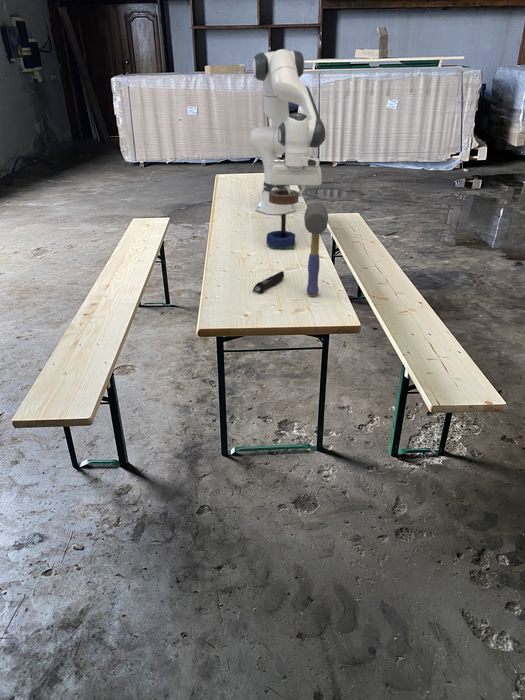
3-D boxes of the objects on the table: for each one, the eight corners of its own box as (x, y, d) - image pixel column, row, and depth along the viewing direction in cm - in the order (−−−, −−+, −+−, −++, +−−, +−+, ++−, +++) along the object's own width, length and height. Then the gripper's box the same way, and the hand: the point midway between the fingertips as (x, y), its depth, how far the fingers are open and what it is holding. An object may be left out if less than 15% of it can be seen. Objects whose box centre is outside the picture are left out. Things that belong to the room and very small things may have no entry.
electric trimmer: (286, 280, 189) (287, 272, 187) (261, 294, 178) (261, 285, 176) (278, 277, 191) (278, 269, 189) (252, 291, 180) (252, 283, 178)
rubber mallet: (323, 303, 172) (329, 211, 156) (300, 302, 172) (304, 211, 157) (323, 288, 182) (328, 200, 167) (301, 287, 183) (304, 200, 168)
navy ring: (268, 237, 225) (268, 230, 223) (295, 238, 224) (295, 231, 222) (265, 246, 215) (265, 239, 213) (294, 247, 214) (294, 240, 212)
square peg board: (272, 241, 224) (273, 210, 217) (294, 242, 224) (294, 211, 217) (271, 248, 216) (271, 217, 210) (293, 249, 216) (294, 217, 209)
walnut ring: (270, 197, 216) (270, 189, 214) (298, 197, 215) (298, 189, 214) (268, 204, 206) (268, 196, 204) (297, 205, 205) (298, 196, 204)
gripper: (269, 161, 200) (268, 197, 207) (323, 161, 199) (321, 198, 206) (269, 158, 206) (269, 193, 213) (322, 158, 205) (320, 194, 212)
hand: (295, 196), depth 209 cm, fingers closed on walnut ring, 2 cm apart
